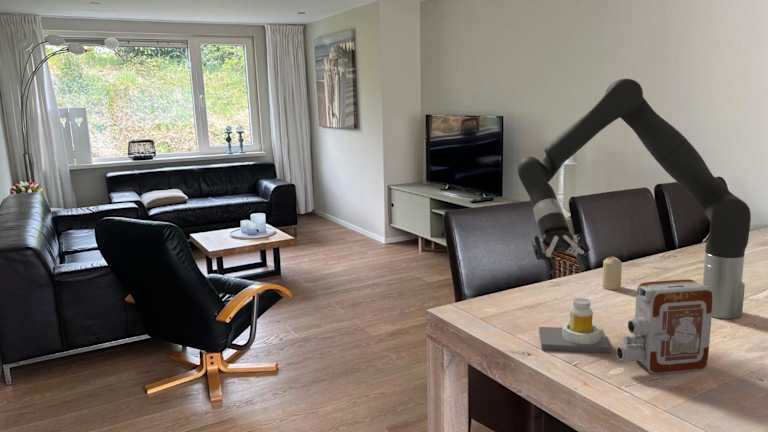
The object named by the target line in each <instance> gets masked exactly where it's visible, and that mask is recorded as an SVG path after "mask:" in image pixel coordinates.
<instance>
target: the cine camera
mask: <svg viewBox="0 0 768 432" xmlns="http://www.w3.org/2000/svg"><path fill="white" fill-rule="evenodd" d="M712 305H713V294H712V291H711V289H710V287H709V286H704V285H703V283H699V282H698V281H696V280H693V279H689V278H688V279H687V278H686V279H684V278H683V279H670V280H657V281H645V282H641V283H639V284H638V286H637V288H636V294H635V313H634V314H635V315H634V317H632V318H631V319H630V320H628V321H627V328H628V332H629V333H630V334H632V335H633V336H629V335H627V336H623V344H622V345H618V346H617V347H616V356H617V359H619V360H620V361H623V362H624V361H625V362H627V361H628V362H634V361H635V362H636V363H638V364H639V365H640V366H641V367H642V368H643V369H645V370H646V371H647V372H648V373H650V374H653V375H658V374H660V375H661V374H671V373H683V372H693V371H694V372H695V371H696V372H697V371H701V370H704V369H705V368H706V367H707V365H708V359H709V351H710V342H711V341H710V340H711V330H712V329H711V328H712V318H713V317H712Z"/></svg>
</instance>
